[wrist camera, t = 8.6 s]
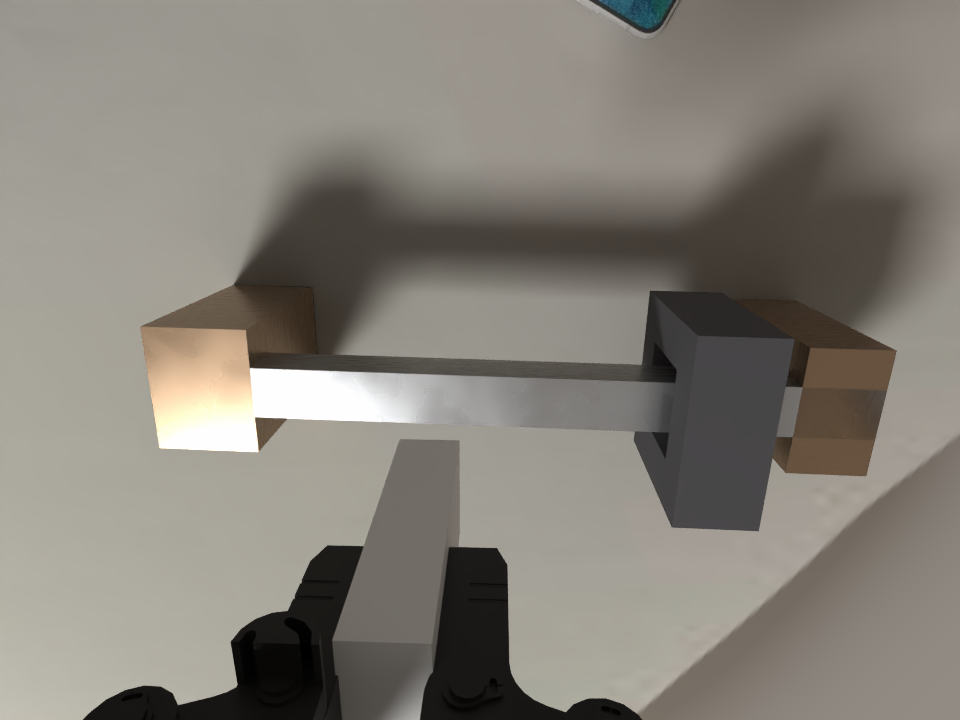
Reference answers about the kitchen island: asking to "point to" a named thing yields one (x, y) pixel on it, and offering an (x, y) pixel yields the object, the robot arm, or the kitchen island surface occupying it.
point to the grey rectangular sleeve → (714, 408)
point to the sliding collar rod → (478, 383)
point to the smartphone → (635, 14)
